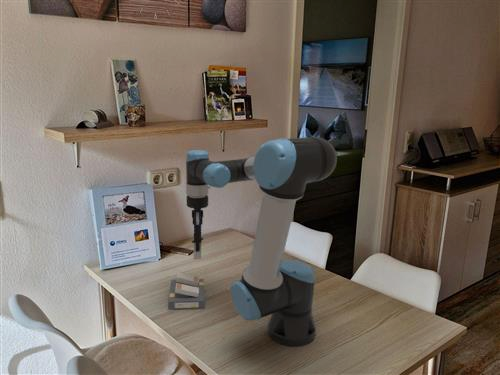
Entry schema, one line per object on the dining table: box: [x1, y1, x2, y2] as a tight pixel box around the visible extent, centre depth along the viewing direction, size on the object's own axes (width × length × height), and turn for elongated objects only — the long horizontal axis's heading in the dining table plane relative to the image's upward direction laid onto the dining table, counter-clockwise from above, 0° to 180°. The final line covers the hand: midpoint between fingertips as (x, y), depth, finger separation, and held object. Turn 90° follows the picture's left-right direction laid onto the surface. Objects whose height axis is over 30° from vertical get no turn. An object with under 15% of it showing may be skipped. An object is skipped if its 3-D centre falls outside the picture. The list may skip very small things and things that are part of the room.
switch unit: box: [168, 278, 206, 311], centre depth 157 cm, size 16×12×4 cm
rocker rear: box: [175, 272, 200, 286], centre depth 161 cm, size 4×8×2 cm, turn 97°
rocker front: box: [175, 283, 199, 297], centre depth 153 cm, size 4×8×2 cm, turn 97°
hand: (197, 258), depth 159 cm, fingers closed
